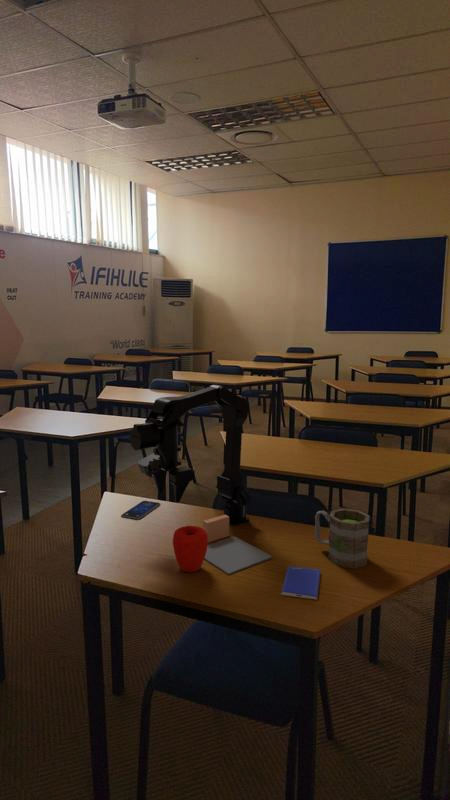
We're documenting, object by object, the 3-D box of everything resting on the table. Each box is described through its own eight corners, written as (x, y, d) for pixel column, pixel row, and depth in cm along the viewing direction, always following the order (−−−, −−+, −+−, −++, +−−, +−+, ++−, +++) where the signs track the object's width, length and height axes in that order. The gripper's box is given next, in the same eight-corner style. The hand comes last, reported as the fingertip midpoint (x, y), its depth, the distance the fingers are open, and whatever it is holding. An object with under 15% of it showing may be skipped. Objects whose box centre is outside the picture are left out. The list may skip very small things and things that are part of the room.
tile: (224, 533, 151) (224, 514, 150) (229, 535, 149) (229, 516, 148) (202, 540, 146) (202, 520, 145) (207, 543, 144) (207, 523, 143)
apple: (201, 558, 135) (202, 519, 133) (212, 573, 127) (212, 532, 125) (169, 563, 132) (169, 523, 130) (178, 579, 124) (177, 537, 122)
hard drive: (288, 565, 129) (281, 590, 117) (320, 569, 127) (317, 595, 115) (287, 571, 129) (281, 596, 117) (320, 575, 127) (317, 601, 116)
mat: (234, 537, 148) (234, 536, 148) (272, 557, 135) (272, 556, 135) (192, 551, 139) (192, 550, 139) (228, 574, 126) (228, 573, 126)
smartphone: (119, 515, 162) (142, 500, 176) (119, 518, 162) (142, 502, 176) (139, 518, 160) (161, 502, 173) (139, 521, 160) (161, 505, 174)
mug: (375, 558, 136) (378, 515, 134) (356, 572, 128) (358, 527, 126) (324, 540, 146) (326, 501, 144) (303, 553, 138) (305, 511, 136)
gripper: (125, 441, 142) (127, 494, 145) (159, 456, 127) (160, 514, 130) (159, 435, 149) (161, 486, 151) (195, 448, 134) (196, 504, 137)
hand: (168, 497), depth 142 cm, fingers open, 9 cm apart
